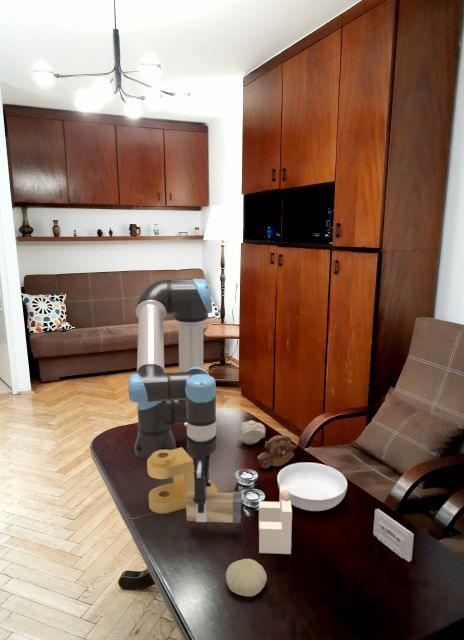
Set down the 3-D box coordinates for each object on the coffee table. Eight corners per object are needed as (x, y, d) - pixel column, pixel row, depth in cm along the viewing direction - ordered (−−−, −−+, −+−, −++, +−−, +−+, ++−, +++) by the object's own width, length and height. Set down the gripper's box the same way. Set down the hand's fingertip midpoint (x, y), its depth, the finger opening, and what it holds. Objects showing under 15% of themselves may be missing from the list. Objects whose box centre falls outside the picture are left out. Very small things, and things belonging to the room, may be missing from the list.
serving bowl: (349, 487, 143) (350, 467, 141) (342, 528, 123) (343, 505, 122) (285, 475, 149) (285, 456, 148) (269, 512, 130) (269, 491, 129)
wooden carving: (265, 475, 149) (265, 447, 147) (256, 469, 153) (256, 442, 151) (299, 459, 159) (300, 433, 157) (289, 454, 163) (290, 429, 161)
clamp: (154, 517, 128) (152, 466, 125) (145, 500, 136) (142, 451, 133) (217, 498, 137) (217, 450, 134) (205, 483, 145) (204, 437, 142)
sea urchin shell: (220, 562, 107) (245, 541, 106) (242, 582, 108) (267, 561, 108) (223, 593, 98) (250, 570, 97) (247, 614, 99) (274, 592, 99)
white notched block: (258, 523, 125) (259, 478, 122) (287, 524, 125) (289, 478, 122) (259, 552, 114) (259, 503, 111) (291, 554, 113) (292, 504, 111)
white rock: (259, 436, 177) (259, 413, 175) (271, 445, 170) (272, 420, 168) (233, 444, 171) (233, 419, 169) (245, 453, 164) (245, 428, 162)
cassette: (413, 560, 111) (415, 533, 110) (407, 563, 110) (410, 536, 109) (376, 532, 122) (378, 507, 120) (371, 534, 121) (373, 509, 119)
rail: (188, 510, 122) (188, 490, 120) (241, 512, 121) (241, 491, 120) (186, 521, 118) (186, 499, 116) (240, 523, 117) (240, 501, 116)
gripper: (191, 419, 123) (192, 495, 128) (181, 451, 106) (183, 536, 111) (218, 420, 122) (219, 496, 128) (213, 452, 106) (213, 538, 111)
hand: (202, 514), depth 120 cm, fingers closed on rail, 4 cm apart
